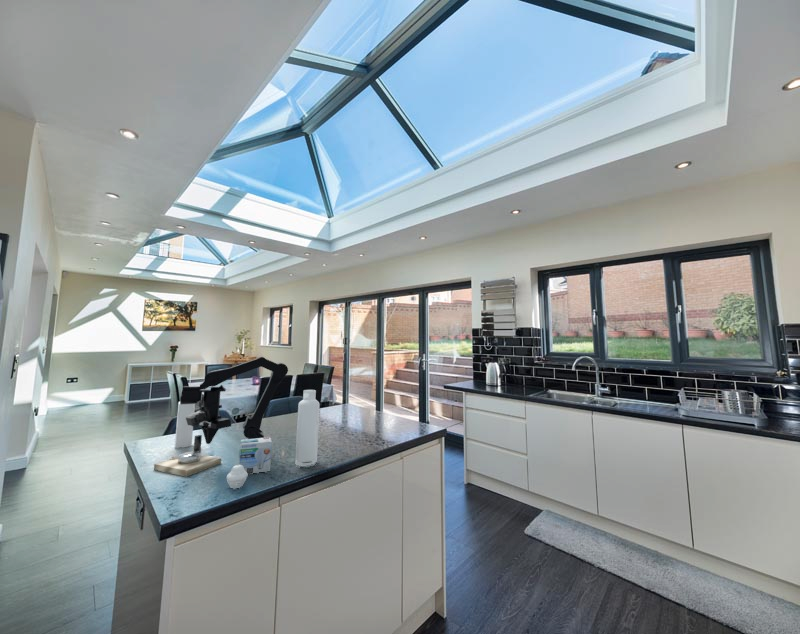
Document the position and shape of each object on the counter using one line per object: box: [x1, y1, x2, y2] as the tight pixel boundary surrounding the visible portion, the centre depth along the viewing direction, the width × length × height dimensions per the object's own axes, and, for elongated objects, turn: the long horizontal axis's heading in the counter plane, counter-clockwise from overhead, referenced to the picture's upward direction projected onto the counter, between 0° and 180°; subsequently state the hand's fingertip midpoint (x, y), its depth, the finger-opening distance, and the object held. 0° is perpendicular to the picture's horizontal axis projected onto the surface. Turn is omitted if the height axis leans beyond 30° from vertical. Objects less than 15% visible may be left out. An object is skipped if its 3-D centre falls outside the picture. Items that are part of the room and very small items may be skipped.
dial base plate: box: [153, 453, 222, 478], centre depth 121 cm, size 17×14×2 cm
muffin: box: [225, 464, 248, 489], centre depth 105 cm, size 6×6×7 cm
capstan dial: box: [177, 434, 203, 464], centre depth 123 cm, size 12×7×7 cm, turn 11°
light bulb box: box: [238, 436, 273, 475], centre depth 119 cm, size 11×7×11 cm, turn 117°
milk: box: [174, 401, 196, 449], centre depth 146 cm, size 6×6×22 cm
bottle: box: [294, 389, 321, 466], centre depth 127 cm, size 8×8×28 cm
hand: (208, 443), depth 127 cm, fingers closed
